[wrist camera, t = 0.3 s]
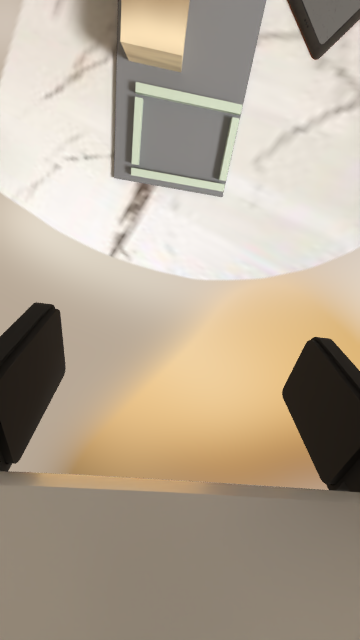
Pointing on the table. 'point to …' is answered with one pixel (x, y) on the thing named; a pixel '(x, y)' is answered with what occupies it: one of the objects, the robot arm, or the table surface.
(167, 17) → the card box
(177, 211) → the table surface
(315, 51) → the phone
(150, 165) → the mat
